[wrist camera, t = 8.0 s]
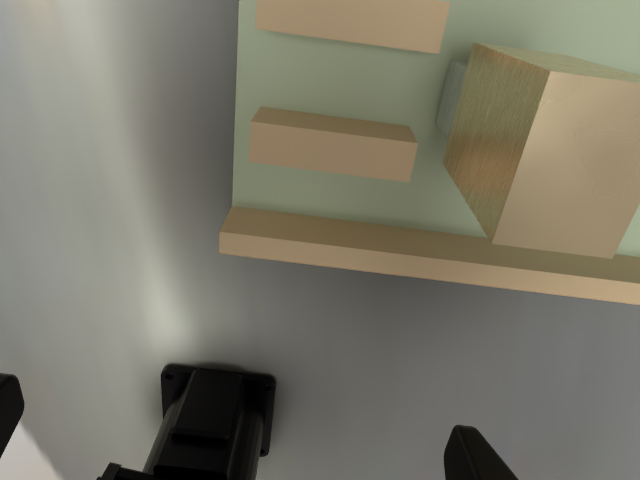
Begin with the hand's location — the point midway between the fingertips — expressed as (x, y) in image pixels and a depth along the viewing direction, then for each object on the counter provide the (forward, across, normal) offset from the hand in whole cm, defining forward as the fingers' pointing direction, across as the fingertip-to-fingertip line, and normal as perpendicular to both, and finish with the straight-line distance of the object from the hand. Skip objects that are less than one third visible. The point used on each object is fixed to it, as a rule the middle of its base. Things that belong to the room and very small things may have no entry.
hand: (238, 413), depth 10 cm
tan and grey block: (+12, -11, -5) cm, 17 cm away
